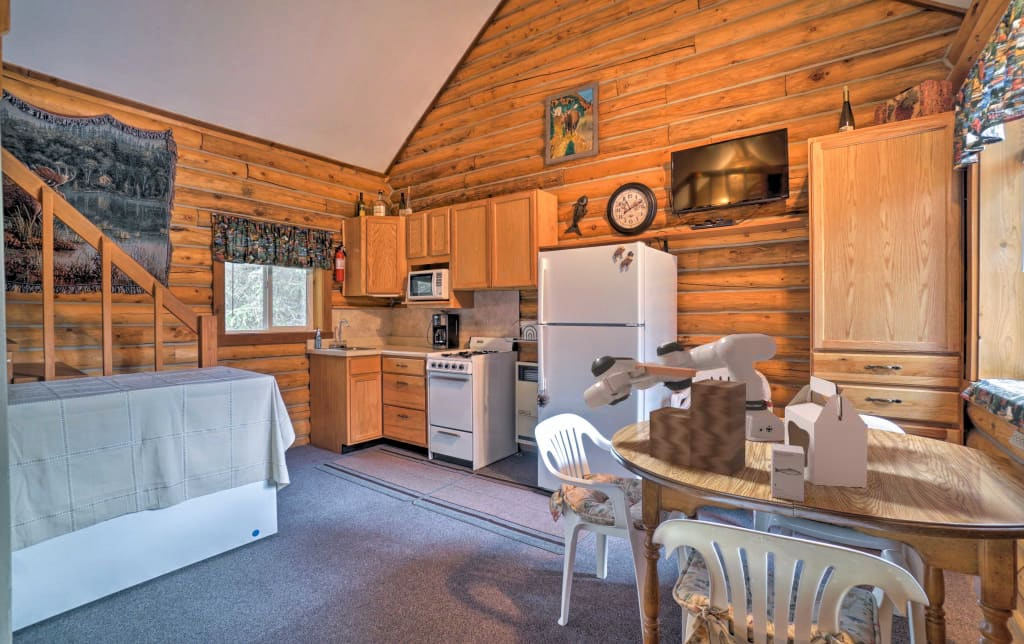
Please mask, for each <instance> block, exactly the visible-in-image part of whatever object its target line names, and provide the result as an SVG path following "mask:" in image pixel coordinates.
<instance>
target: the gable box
mask: <svg viewBox="0 0 1024 644" xmlns="http://www.w3.org/2000/svg"><path fill="white" fill-rule="evenodd" d="M843 390H844V387H841V386H839V385H838V383H836V382H834V381H830V380H827V379H825V378H820V377H818V376H815V375H811V376H810V381H809V384H808V383H807V384H805V385H804V386H802V388H800V389H799V391H798V392H796V394H795V396H793V398H792V399H791V400H790V401H789V402H788V404H787V405H786V406H785V407H784V427H785V440H784V445H792V446H801V447H803V450H804V453H805V463H804V479H806V481H808V483H810V484H812V485H813V486H817V485H830V486H829V487H834V486H853V487H862V488H861V489H867V488H866V487H868V437H869V435H868V433H869V431H868V429H869V428H868V426H869V425H868V424H866V422H865V421H864V419H863V418H862V417H861V415H860V414H859V413H858V412H857V411H856V409H855V408H854V406H853V405H852V404H851V403H850V401H849V400H848V399H847V397H845V395H843V394H841V393H842V392H843ZM824 396H825V397H827V398H828V399H827V401H826V399H825V398H824Z"/></svg>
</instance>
